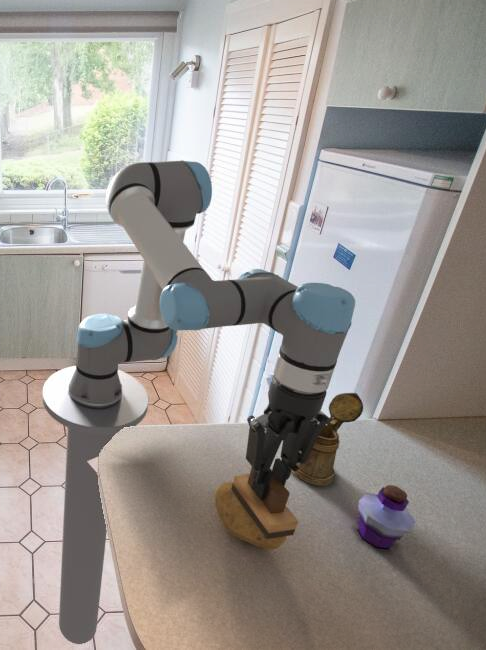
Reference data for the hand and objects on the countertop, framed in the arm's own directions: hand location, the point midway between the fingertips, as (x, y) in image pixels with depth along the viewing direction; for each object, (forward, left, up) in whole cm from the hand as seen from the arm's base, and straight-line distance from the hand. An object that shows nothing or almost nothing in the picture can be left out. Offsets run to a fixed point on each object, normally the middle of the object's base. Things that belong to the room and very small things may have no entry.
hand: (265, 492), depth 80 cm
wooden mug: (-15, +26, -13) cm, 33 cm away
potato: (-2, 0, -13) cm, 13 cm away
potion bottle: (+3, +24, -13) cm, 27 cm away
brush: (0, 0, -5) cm, 5 cm away
